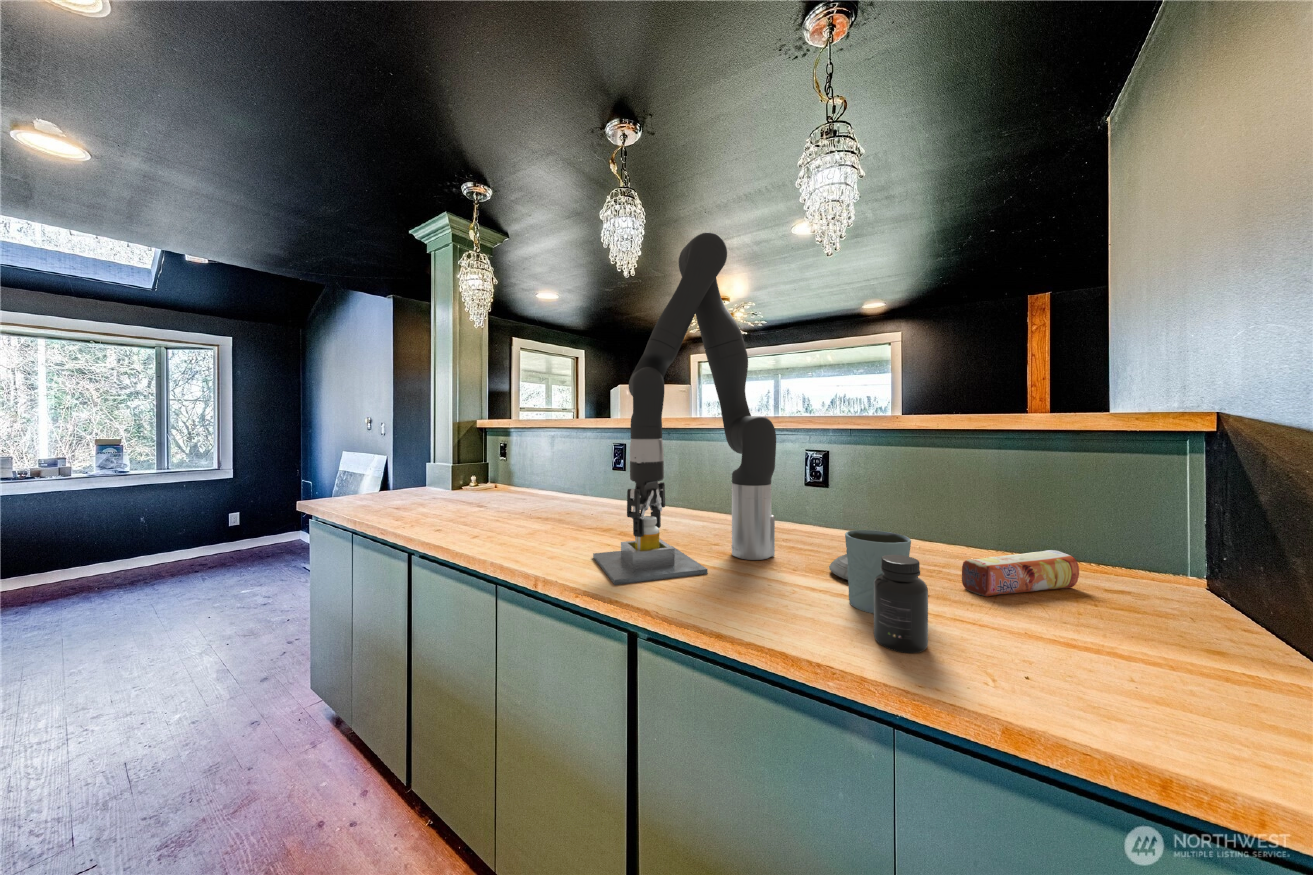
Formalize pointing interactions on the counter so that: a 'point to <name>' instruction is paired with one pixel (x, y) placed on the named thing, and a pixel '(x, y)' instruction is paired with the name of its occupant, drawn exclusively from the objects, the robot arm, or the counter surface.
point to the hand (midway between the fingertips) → (647, 532)
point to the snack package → (1020, 573)
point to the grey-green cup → (869, 562)
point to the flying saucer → (840, 567)
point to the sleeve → (647, 564)
